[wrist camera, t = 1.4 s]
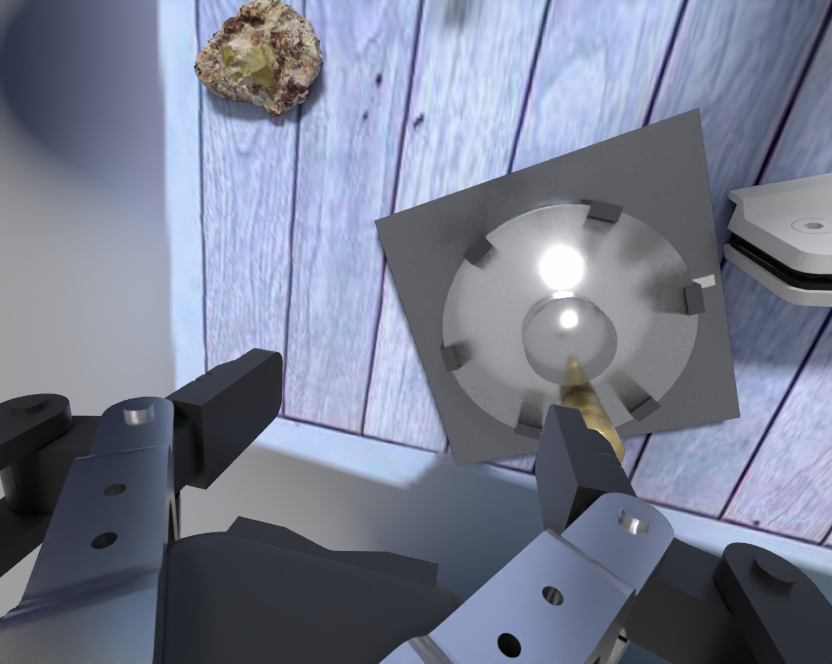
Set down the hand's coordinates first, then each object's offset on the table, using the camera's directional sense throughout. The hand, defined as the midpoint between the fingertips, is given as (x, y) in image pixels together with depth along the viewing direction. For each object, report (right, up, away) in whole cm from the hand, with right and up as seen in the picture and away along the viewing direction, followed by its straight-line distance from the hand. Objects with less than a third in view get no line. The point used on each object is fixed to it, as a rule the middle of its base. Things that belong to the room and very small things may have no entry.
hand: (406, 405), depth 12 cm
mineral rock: (-12, +24, +21) cm, 34 cm away
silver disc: (+12, +3, +21) cm, 25 cm away
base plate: (+12, +4, +23) cm, 26 cm away
